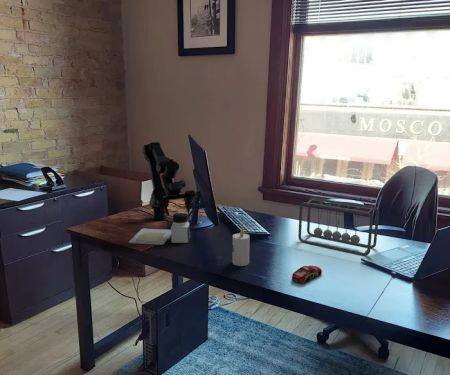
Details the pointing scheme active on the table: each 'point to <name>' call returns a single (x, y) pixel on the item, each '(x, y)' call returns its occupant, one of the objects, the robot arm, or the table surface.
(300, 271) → the race car
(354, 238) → the newton's cradle
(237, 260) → the candle
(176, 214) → the medicine bottle
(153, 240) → the board
